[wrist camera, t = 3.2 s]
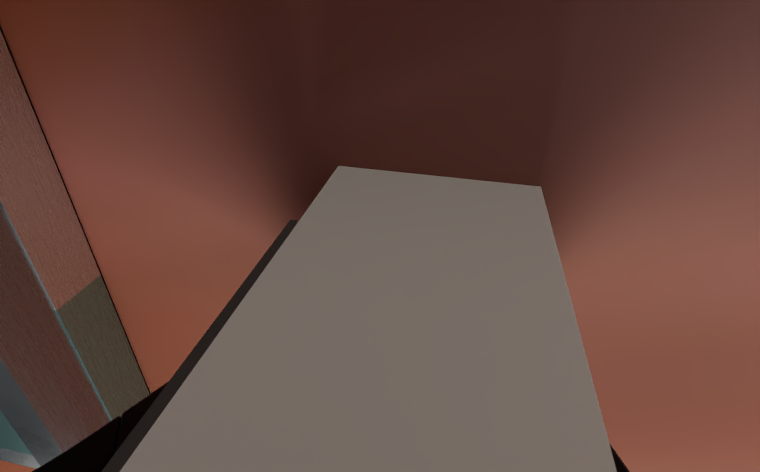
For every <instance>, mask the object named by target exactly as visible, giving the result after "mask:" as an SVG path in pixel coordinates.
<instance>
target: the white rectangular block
mask: <svg viewBox="0 0 760 472" xmlns="http://www.w3.org/2000/svg"><path fill="white" fill-rule="evenodd" d="M101 472H617V470H616V467H615V463H614V459H613V455H612V452H611V448H610V444H609V440H608V437H607V433H606V429H605V425H604V422H603V418H602V414H601V410H600V406H599V403H598V399H597V395H596V391H595V388H594V384H593V380H592V376H591V373H590V369H589V365H588V361H587V358H586V354H585V350H584V346H583V343H582V339H581V335H580V331H579V328H578V324H577V320H576V316H575V313H574V309H573V305H572V301H571V298H570V294H569V290H568V286H567V283H566V279H565V275H564V271H563V268H562V264H561V260H560V256H559V253H558V249H557V245H556V241H555V238H554V234H553V230H552V226H551V223H550V219H549V215H548V211H547V208H546V204H545V200H544V196H543V193H542V189H541V187H540V186H530V185H521V184H511V183H501V182H492V181H482V180H472V179H462V178H453V177H443V176H433V175H423V174H414V173H404V172H394V171H384V170H375V169H365V168H355V167H346V166H338V167H337V168H336V170H335V171H334V173H333V174H332V175H331V177H330V178H329V180H328V181H327V182H326V184H325V185H324V187H323V188H322V189H321V191H320V192H319V194H318V195H317V196H316V198H315V199H314V201H313V202H312V203H311V205H310V206H309V208H308V209H307V210H306V212H305V213H304V215H303V216H302V217H301V219H300V220H299V221H295V220H290V221H289V223H288V224H287V225H286V226H285V228H284V229H283V230H282V232H281V233H280V234H279V236H278V237H277V238H276V240H275V241H274V242H273V244H272V245H271V246H270V248H269V249H268V250H267V252H266V253H265V254H264V256H263V257H262V258H261V260H260V261H259V262H258V264H257V265H256V266H255V268H254V269H253V270H252V272H251V273H250V274H249V276H248V277H247V278H246V280H245V281H244V282H243V284H242V285H241V286H240V288H239V289H238V290H237V292H236V293H235V294H234V296H233V297H232V298H231V300H230V301H229V302H228V304H227V305H226V306H225V308H224V309H223V310H222V312H221V313H220V314H219V316H218V317H217V318H216V320H215V321H214V322H213V324H212V325H211V326H210V328H209V329H208V330H207V332H206V333H205V334H204V336H203V337H202V338H201V340H200V341H199V342H198V344H197V345H196V346H195V348H194V349H193V350H192V352H191V353H190V354H189V356H188V357H187V358H186V360H185V361H184V362H183V364H182V365H181V366H180V368H179V369H178V370H177V372H176V373H175V374H174V376H173V377H172V378H171V380H170V381H169V382H168V384H167V385H166V386H165V388H164V389H163V390H162V392H161V393H160V394H159V395H158V397H157V398H156V399H155V401H154V402H153V403H152V405H151V406H150V407H149V409H148V410H147V411H146V413H145V414H144V415H143V417H142V418H141V419H140V421H139V422H138V423H137V425H136V426H135V427H134V429H133V430H132V431H131V433H130V434H129V435H128V437H127V438H126V439H125V441H124V442H123V443H122V445H121V446H120V447H119V449H118V450H117V451H116V453H115V454H114V455H113V457H112V458H111V459H110V461H109V462H108V463H107V465H106V466H105V467H104V469H103V470H102V471H101Z"/></svg>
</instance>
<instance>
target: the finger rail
mask: <svg viewBox="0 0 760 472" xmlns="http://www.w3.org/2000/svg"><path fill="white" fill-rule="evenodd" d="M148 395H150V394H149V391H148V389H147V386H146V384H145V381H144V379H143V377H142V374H141V372H140V369H139V367H138V364H137V362H136V360H135V357H134V355H133V352H132V350H131V347H130V345H129V343H128V340H127V338H126V335H125V333H124V330H123V328H122V325H121V323H120V321H119V318H118V316H117V313H116V311H115V308H114V306H113V304H112V301H111V299H110V296H109V294H108V291H107V289H106V286H105V284H104V282H103V279H102V277H101V274H100V272H99V269H98V267H97V265H96V262H95V260H94V257H93V255H92V252H91V250H90V248H89V245H88V243H87V240H86V238H85V235H84V233H83V230H82V228H81V226H80V223H79V221H78V218H77V216H76V213H75V211H74V209H73V206H72V204H71V201H70V199H69V196H68V194H67V191H66V189H65V187H64V184H63V182H62V179H61V177H60V174H59V172H58V170H57V167H56V165H55V162H54V160H53V157H52V155H51V152H50V150H49V148H48V145H47V143H46V140H45V138H44V135H43V133H42V131H41V128H40V126H39V123H38V121H37V118H36V116H35V114H34V111H33V109H32V106H31V104H30V101H29V99H28V96H27V94H26V92H25V89H24V87H23V84H22V82H21V79H20V77H19V75H18V72H17V70H16V67H15V65H14V62H13V60H12V57H11V55H10V53H9V50H8V48H7V45H6V43H5V40H4V38H3V36H2V33H1V31H0V460H3V461H7V462H11V463H15V464H19V465H24V466H28V467H32V468H36V469H37V468H39V467H40V466H42V465H44V464H45V463H47V462H48V461H50V460H52V459H53V458H55V457H57V456H58V455H60V454H62V453H63V452H65V451H66V450H68V449H69V448H71V447H72V446H74V445H75V444H77V443H79V442H80V441H82V440H83V439H85V438H86V437H88V436H89V435H91V434H92V433H94V432H95V431H97V430H98V429H100V428H101V427H103V426H104V425H106V424H107V423H108V422H110V421H111V420H113V419H114V418H116V417H117V416H122V414H123V412H125V411H126V410H128V409H129V408H131V407H132V406H134V405H135V404H136V403H138V402H139V401H141V400H142V399H144V398H145V397H147V396H148Z"/></svg>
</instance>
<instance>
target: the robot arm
mask: <svg viewBox="0 0 760 472" xmlns="http://www.w3.org/2000/svg"><path fill="white" fill-rule="evenodd" d="M167 384H168V382H167V383H166V384H164V385H163V386H161V387H160V388H158V389H157V390H155V391H154V392H152V393H151V394H150V395H148V396H147V397H145V398H144V399H142V400H141V401H139V402H138V403H136V404H135V405H134V406H132V407H131V408H129V409H128V410H126V411H125V412H123V414H122V416H117V417H116V418H114V419H113V420H111V421H110V422H108V423H107V424H106V425H104V426H103V427H101V428H100V429H98V430H97V431H95V432H94V433H92V434H91V435H89V436H88V437H86V438H85V439H83V440H82V441H80V442H79V443H77V444H75V445H74V446H72V447H71V448H69V449H68V450H66V451H65V452H63V453H62V454H60V455H58V456H57V457H55V458H53V459H52V460H50V461H48V462H47V463H45V464H44V465H42V466H40V467H39V468H37V469H35V470H34V471H32V472H101V471H102V470H103V469H104V467H105V466H106V465H107V463H108V462H109V461H110V459H111V458H112V457H113V455H114V454H115V453H116V451H117V450H118V449H119V447H120V446H121V445H122V443H123V442H124V441H125V439H126V438H127V437H128V435H129V434H130V433H131V431H132V430H133V429H134V427H135V426H136V425H137V423H138V422H139V421H140V419H141V418H142V417H143V415H144V414H145V413H146V411H147V410H148V409H149V407H150V406H151V405H152V403H153V402H154V401H155V399H156V398H157V397H158V395H159V394H160V393H161V392H162V390H163V389H164V388H165V386H166V385H167ZM609 444H610V443H609ZM610 448H611V452H612V455H613V459H614V463H615V467H616V470H617V472H629V470H628V469H627V467H626V466H625V464H624V463H623V462H622V460H621V459H620V457H619V456H618V455H617V453H616V452H615V450H614V449H613V448H612V446H611V445H610Z"/></svg>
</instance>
